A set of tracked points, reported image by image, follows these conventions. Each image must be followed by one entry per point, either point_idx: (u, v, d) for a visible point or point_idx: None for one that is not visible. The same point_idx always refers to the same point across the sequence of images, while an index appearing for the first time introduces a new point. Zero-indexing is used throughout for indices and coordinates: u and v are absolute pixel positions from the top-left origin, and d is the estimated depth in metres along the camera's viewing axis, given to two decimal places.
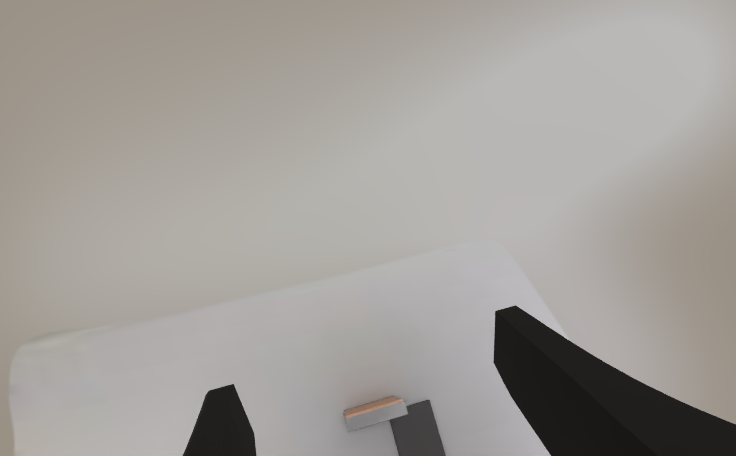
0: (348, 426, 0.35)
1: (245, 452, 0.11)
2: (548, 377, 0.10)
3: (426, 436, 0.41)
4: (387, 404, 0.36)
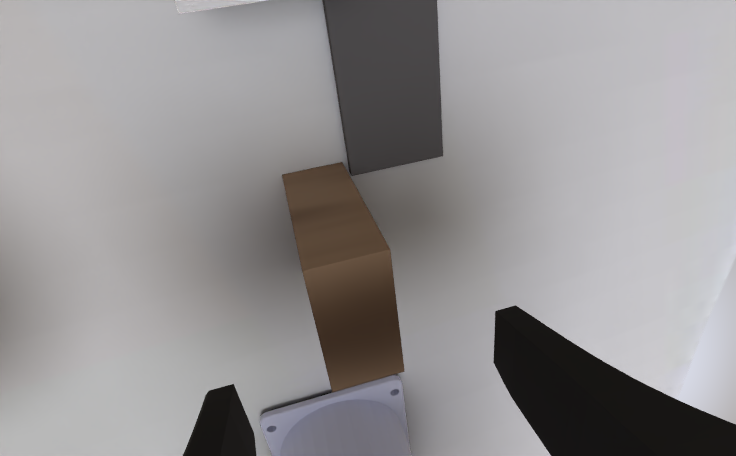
0: None
1: (245, 452, 0.11)
2: (548, 377, 0.10)
3: (409, 59, 0.17)
4: None
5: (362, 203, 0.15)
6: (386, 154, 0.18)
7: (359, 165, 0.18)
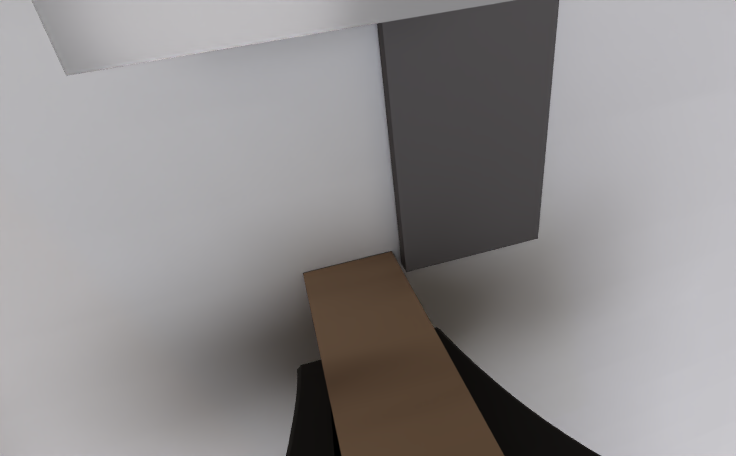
0: (60, 15, 0.03)
1: None
2: None
3: (505, 105, 0.11)
4: None
5: (444, 354, 0.09)
6: (459, 240, 0.12)
7: (418, 257, 0.12)
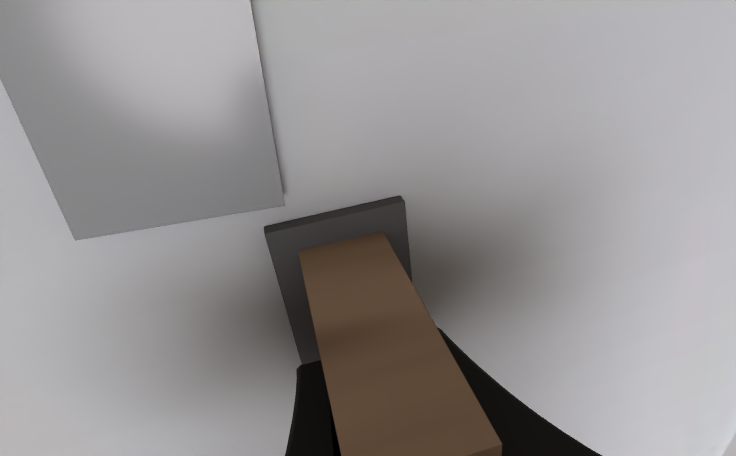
0: None
1: None
2: None
3: None
4: None
5: (429, 320, 0.10)
6: None
7: None
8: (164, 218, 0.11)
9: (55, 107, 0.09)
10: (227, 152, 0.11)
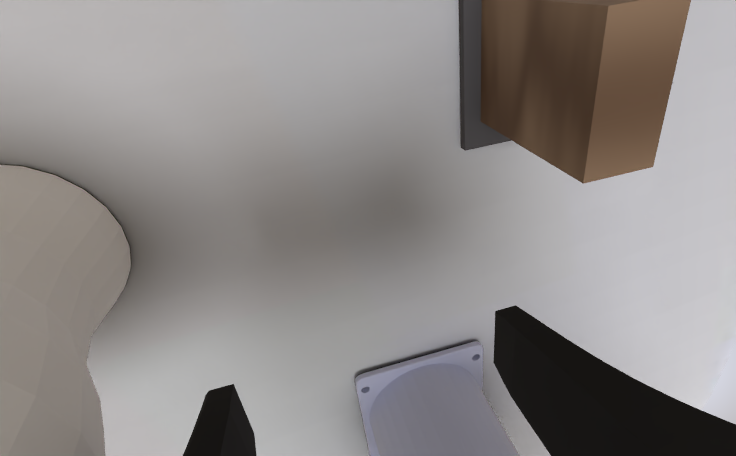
0: None
1: (245, 452, 0.11)
2: (548, 377, 0.10)
3: None
4: None
5: None
6: None
7: (472, 140, 0.20)
8: None
9: None
10: None
